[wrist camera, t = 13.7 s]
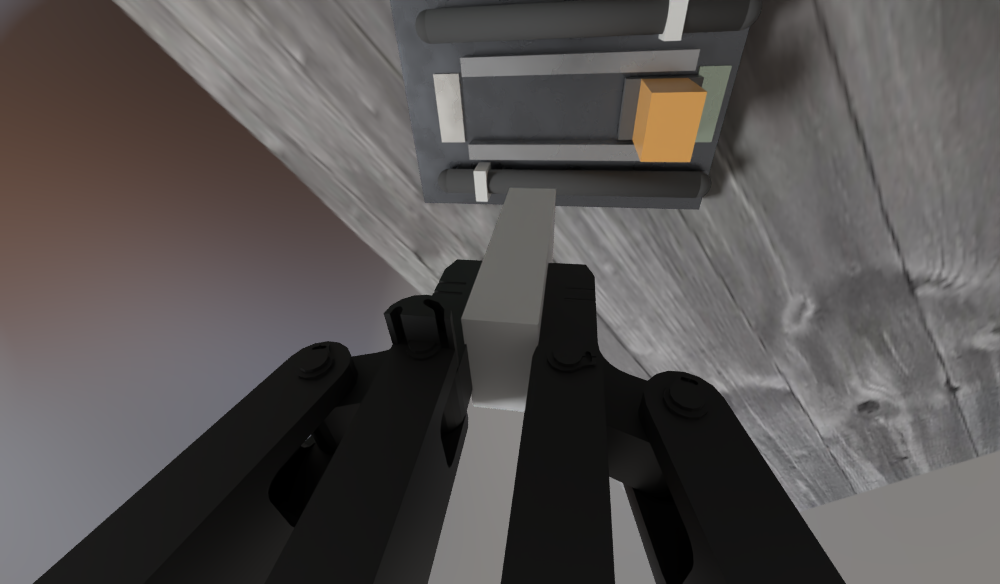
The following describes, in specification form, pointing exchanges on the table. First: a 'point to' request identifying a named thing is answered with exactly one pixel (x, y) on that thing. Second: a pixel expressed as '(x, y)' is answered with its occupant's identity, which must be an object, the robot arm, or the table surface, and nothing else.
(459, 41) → the pair of grey rails
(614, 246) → the table surface
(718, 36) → the panel
